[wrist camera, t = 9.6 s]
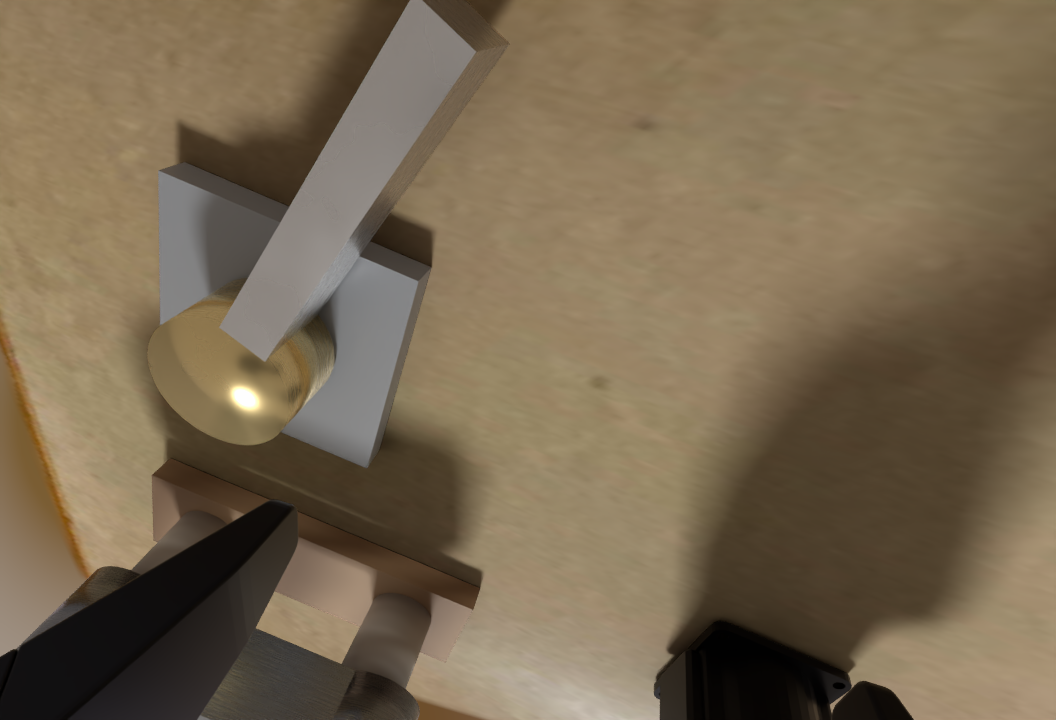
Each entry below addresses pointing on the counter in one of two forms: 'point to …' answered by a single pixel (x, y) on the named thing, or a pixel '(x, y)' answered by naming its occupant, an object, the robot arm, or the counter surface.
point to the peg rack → (326, 574)
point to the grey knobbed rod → (272, 674)
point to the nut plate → (349, 315)
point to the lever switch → (323, 234)
